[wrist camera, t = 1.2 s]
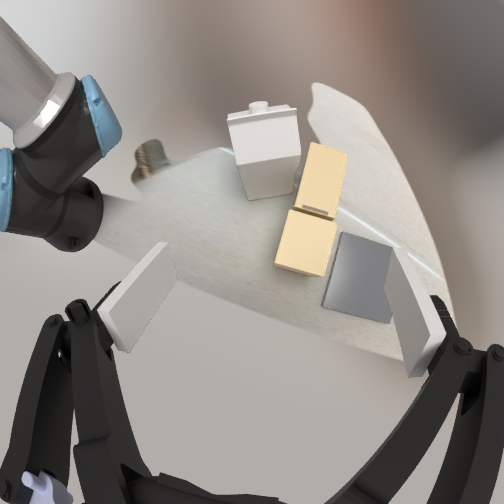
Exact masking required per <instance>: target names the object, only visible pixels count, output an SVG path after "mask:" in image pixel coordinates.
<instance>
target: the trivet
mask: <svg viewBox="0 0 504 504" xmlns="http://www.w3.org/2000/svg"><path fill="white" fill-rule="evenodd" d="M391 253H392V247H389V246H386V245H383V244H380V243H377V242H374V241H371V240H368V239H365V238H362V237H359V236H356V235H353V234H350V233H346V232H341V236H340V240H339V244H338V248H337V252H336V256H335V259H334V263H333V267H332V271H331V274H330V278H329V282H328V285H327V289H326V292H325V296H324V299H323V302H322V307H325V308H329V309H332V310H336V311H340V312H344V313H348V314H352V315H356V316H359V317H363V318H367V319H371V320H375V321H379V322H384V323H388V324H390V321H391V317H392V312H391V309H390V306H389V302H388V299H387V296H386V293H385V290H384V286H385V281H386V277H387V272H388V268H389V263H390V258H391Z"/></svg>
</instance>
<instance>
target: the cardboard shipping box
mask: <svg viewBox="0 0 504 504" xmlns="http://www.w3.org/2000/svg"><path fill="white" fill-rule="evenodd" d="M347 158H348V153H346V152H343V151H340V150H336V149H333V148H330V147H327V146H323V145H320V144H316V143H313V142H311V144H310V148H309V151H308V155H307V158H306V162H305V165H304V169H303V172H302V176H301V180H300V184H299V188H298V191H297V195H296V199H295V203H294V206H293V210H294V211H297V212H301V213H304V214H308V215H311V216H315V217H318V218H321V219H325V220H328V221H332V220H333V219H335V215H336V211H337V206H338V202H339V197H340V193H341V188H342V183H343V178H344V173H345V168H346V163H347Z"/></svg>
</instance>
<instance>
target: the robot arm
mask: <svg viewBox="0 0 504 504" xmlns="http://www.w3.org/2000/svg"><path fill="white" fill-rule="evenodd" d="M0 121H1V122H3V123H4V124H5V125H6V126H8V127H9V128H11V129H12V130H13V142H14V145H15V147H16V148H15V149H14V150H13V151H11V150H10V149H9V148H2V149H0V231H1V232H9V233H15V234H21V235H27V236H33V237H39V238H43V239H44V240H46V241H47V242H48V243H50V244H51V245H53V246H54V247H55V248H57V249H59V250H61V251H66V252H76V251H80V250H82V249H83V248H85V247H86V246H87V245H88V244H89V243H90V242H91V241H92V240H93V238H94V237H95V235H96V233H97V231H98V229H99V226H100V223H101V220H102V214H103V199H102V195H101V192H100V190H99V188H98V186H97V185H96V184H95V183H94V182H92V181H91V180H89V179H87V178H85V177H82V175H83V174H84V173H86V172H87V171H88V170H89V169H90V168H91V167H92V166H93V165H94V164H96V163H97V162H98V161H99V160H100V159H101V158H104V157H105V156H106V153H107V152H109V150H111V149H112V148H113V147H114V146H115V145H116V144H117V143H118V142H119V141H120V139H121V136H122V129H121V126H120V124H119V122H118V120H117V118H116V116H115V114H114V112H113V110H112V108H111V106H110V104H109V102H108V101H107V99H106V97H105V95H104V94H103V92H102V90H101V88H100V87H99V85H98V83H97V82H96V80H95V79H94V78H93V77H92V76H91V75H87V76H86V77H82V79H81V81H79V80H78V79H77V78H76V77H75V76H74V75H73V74H72V73H69V72H67V73H61V74H55V73H54V72H53V71H52V70H51V69H50V68H49V67H48V65H47V64H46V63H45V62H44V61H43V60H42V59H41V58H40V57H39V56H38V55H37V54H36V53H35V52H34V51H33V50H32V49H31V48H30V47H29V46H28V45H27V44H26V43H25V42H24V41H23V40H22V38H21V37H19V35H18V34H17V33H16V32H15V31H14V30H13V29H12V28H11V27H10V26H9V25H8V24H7V23H6V22H5V21H4V19H3V18H2V17H0ZM177 280H178V277H177V273H176V269H175V265H174V261H173V257H172V253H171V249H170V245H169V242H158V243H157V244H156V245H155V246H154V247H153V248H152V249H151V250H150V251H149V252H148V253H147V254H146V255H145V256H144V258H143V259H142V260H141V261H140V262H139V263H138V264H137V265H136V266H135V267H134V268H133V269H132V270H131V272H130V273H129V274H128V275H127V276H126V277H125V278H124V279H123V280H122V281H120V282H118V283H117V284H115V285H114V286H113V287H112V288H111V289H110V290H109V291H108V293H106V294H105V296H104V298H102V299H101V300H100V301H99V302H98V304H97V305H96V306H95V307H94V308H93V310H92V311H91V310H90V308H89V306H88V304H87V302H86V300H84V299H77V300H74V301H72V302H71V303H70V304H68V305H67V307H66V308H65V313H66V314H67V316H68V318H69V320H70V321H64V319H63V318H62V316H61V315H60V314H55V315H52V316H50V317H49V318H48V319H47V320H46V321H45V323H44V325H43V327H42V329H41V332H40V335H39V337H38V340H37V342H36V345H35V348H34V351H33V353H32V356H31V359H30V362H29V365H28V368H27V371H26V374H25V378H24V381H23V384H22V388H21V392H20V395H19V399H18V403H17V407H16V412H15V417H14V421H13V426H12V433H11V438H10V444H9V449H8V451H7V453H6V456H5V458H4V461H3V463H2V466H1V468H0V498H1V499H2V500H4V501H5V502H7V503H9V504H72V503H73V497H72V495H71V494H70V493H68V491H67V485H68V479H69V470H70V469H69V467H70V446H71V431H72V421H73V412H74V409H75V417H76V425H77V432H78V438H79V443H78V444H77V445H74V447H73V454H74V459H75V464H76V469H77V473H78V477H79V481H80V485H81V489H82V492H83V496H84V499H85V503H82V504H287V503H284V502H281V501H278V499H279V498H276V497H266V496H258V495H250V494H238V495H215V494H211V493H209V492H207V491H205V490H203V489H201V488H199V487H197V486H196V485H194V484H192V483H190V482H188V481H186V480H183V479H179V478H176V477H173V476H170V475H167V474H164V473H160V474H159V476H152V474H151V472H150V471H149V469H148V468H147V466H146V465H145V464H144V462H143V460H142V458H141V456H140V453H139V450H138V447H137V444H136V441H135V438H134V435H133V432H132V429H131V425H130V422H129V419H128V415H127V412H126V408H125V404H124V400H123V396H122V392H121V388H120V384H119V379H118V375H117V371H116V365H115V360H114V355H113V351H112V349H111V345H112V344H113V343H115V345H116V347H117V349H118V350H120V351H123V352H127V353H130V352H131V350H132V348H133V347H134V345H135V343H136V342H137V341H138V339H139V337H140V336H141V334H142V333H143V331H144V330H145V328H146V326H147V325H148V323H149V322H150V320H151V319H152V317H153V316H154V314H155V313H156V311H157V310H158V308H159V307H160V305H161V304H162V302H163V300H164V299H165V297H166V296H167V295H168V293H169V292H170V290H171V289H172V287H173V286H174V284H175V282H176V281H177ZM384 290H385V293H386V296H387V299H388V302H389V306H390V309H391V312H392V316H393V319H394V323H395V326H396V330H397V334H398V338H399V342H400V346H401V350H402V354H403V358H404V362H405V367H406V371H407V376H408V378H411V377H421V376H423V375H424V373H425V371H426V370H427V368H428V372H429V377H428V378H427V380H426V381H425V383H424V384H423V386H422V388H421V390H420V392H419V393H418V395H417V397H416V398H415V400H414V401H413V403H412V404H411V406H410V407H409V409H408V410H407V412H406V413H405V415H404V416H403V417H402V419H401V420H400V422H399V423H398V424H397V426H396V427H395V428H394V430H393V431H392V433H391V434H390V435H389V436H388V438H387V439H386V440H385V441H384V443H383V444H382V445H381V446H380V447H379V449H378V450H377V451H376V452H375V453H374V455H373V456H372V457H371V458H370V459H369V461H368V462H367V463H366V464H365V465H364V466H363V467H362V468H361V469H360V470H359V471H358V472H357V474H355V475H354V476H353V478H352V479H351V480H350V481H349V482H348V483H347V484H346V485H345V486H343V487H342V489H340V490H339V492H337V493H336V494H335V495H334V496H333V497H331V498H330V499H329V500H328V501H327V502H326V503H324V504H388V503H389V501H390V500H391V499H392V498H393V497H394V495H395V494H396V493H397V492H398V490H399V489H400V488H401V487H402V485H403V484H404V483H405V481H406V480H407V479H408V477H409V476H410V475H411V473H412V472H413V471H414V469H415V468H416V466H417V465H418V463H419V462H420V460H421V459H422V457H423V456H424V454H425V453H426V451H427V450H428V448H429V447H430V445H431V443H432V442H433V440H434V438H435V437H436V435H437V433H438V431H439V430H440V428H441V426H442V424H443V422H444V420H445V419H446V417H447V415H448V412H449V411H450V409H451V407H452V405H453V403H454V400H455V398H456V396H457V394H458V393H461V394H460V400H459V405H458V410H457V414H456V419H455V423H454V427H453V431H452V435H451V439H450V442H449V446H448V449H447V452H446V455H445V458H444V461H443V464H442V467H441V470H440V473H439V475H438V478H437V480H436V483H435V485H434V488H433V490H432V493H431V495H430V497H429V499H428V502H427V504H489V503H490V500H491V497H492V493H493V490H494V487H495V483H496V480H497V476H498V472H499V468H500V463H501V458H502V454H503V448H504V348H503V347H502V346H501V345H499V344H493V345H491V346H490V347H489V348H488V349H487V351H480V350H475V349H473V346H472V345H471V343H470V342H469V341H468V340H466V339H464V338H462V337H460V336H459V333H458V331H457V329H456V327H455V324H454V322H453V320H452V318H451V317H450V314H449V312H448V311H447V308H446V306H445V304H444V302H443V301H442V300H441V299H440V298H439V297H438V296H437V295H429V294H428V292H427V290H426V288H425V286H424V284H423V282H422V280H421V278H420V276H419V274H418V272H417V270H416V268H415V266H414V264H413V263H412V261H411V259H410V257H409V255H408V254H407V252H406V250H405V248H392V253H391V258H390V263H389V268H388V272H387V277H386V281H385V286H384ZM58 352H60V353H61V355H60V357H59V355H58Z"/></svg>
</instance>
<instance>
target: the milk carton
mask: <svg viewBox="0 0 504 504" xmlns="http://www.w3.org/2000/svg"><path fill="white" fill-rule="evenodd" d="M249 109H250V110H247V111H242V112H237V113H232V114H228V119H227V123H228V126H229V131H230V135H231V140H232V145H233V149H234V154H235V159H236V163H237V167H238V170H239V173H240V176H241V179H242V182H243V185H244V188H245V192H246V195H247V198H248V200H249V201H251V200H257V199H262V198H268V197H274V196H279V195H285V194H291V193H292V191H293V186H294V182H295V178H296V174H297V170H298V165H299V161H300V157H301V147H300V140H299V133H298V125H297V117H296V111H297V109H296V108H290V107H289V106H288V105H280V106H273V107H268V102H265V101H258V102H253V103H251V104H249Z"/></svg>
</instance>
